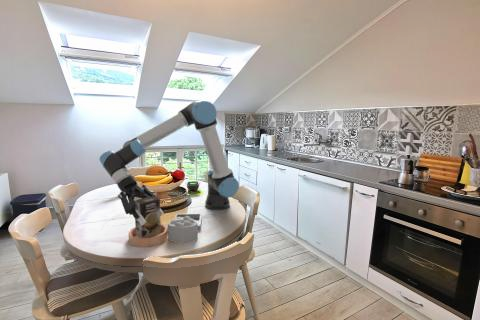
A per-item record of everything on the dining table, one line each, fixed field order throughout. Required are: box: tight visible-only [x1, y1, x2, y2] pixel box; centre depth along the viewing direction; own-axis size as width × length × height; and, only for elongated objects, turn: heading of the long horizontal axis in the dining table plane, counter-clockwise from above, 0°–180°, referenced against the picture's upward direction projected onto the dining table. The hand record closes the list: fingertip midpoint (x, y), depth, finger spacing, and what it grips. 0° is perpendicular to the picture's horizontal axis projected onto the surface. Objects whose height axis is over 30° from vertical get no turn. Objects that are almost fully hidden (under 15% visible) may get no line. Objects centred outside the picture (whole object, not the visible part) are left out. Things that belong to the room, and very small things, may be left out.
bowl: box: [128, 223, 168, 248], centre depth 112 cm, size 16×16×4 cm
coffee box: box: [134, 196, 162, 238], centre depth 111 cm, size 9×6×16 cm
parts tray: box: [174, 212, 203, 231], centre depth 127 cm, size 14×16×2 cm
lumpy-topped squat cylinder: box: [167, 216, 199, 244], centre depth 113 cm, size 10×13×9 cm
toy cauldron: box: [184, 178, 204, 197], centre depth 180 cm, size 15×15×11 cm
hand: (153, 219), depth 110 cm, fingers closed on coffee box, 10 cm apart
